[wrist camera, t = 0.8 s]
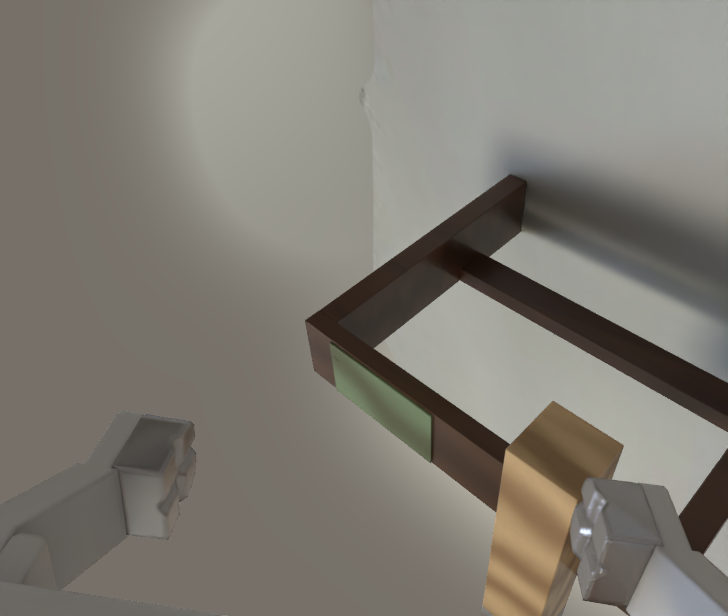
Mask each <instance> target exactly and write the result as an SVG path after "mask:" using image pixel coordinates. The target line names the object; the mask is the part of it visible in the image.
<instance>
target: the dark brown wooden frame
mask: <svg viewBox="0 0 728 616" xmlns="http://www.w3.org/2000/svg"><path fill="white" fill-rule="evenodd" d="M526 183H527V182H526V181H524V180H521V179H519V178H517V177H514V176H512V175H508V176H507V177H505V178H504V179H503V180H501V181H500V182H498V183H497V184H496V185H494V186H493V187H491V188H490V189H489V190H487V191H486V192H484V193H483V194H482V195H480V196H479V197H477V198H476V199H475V200H473V201H472V202H470V203H469V204H468V205H466V206H465V207H463V208H462V209H461V210H459V211H458V212H456V213H455V214H454V215H452V216H451V217H449V218H448V219H447V220H445V221H444V222H442V223H441V224H440V225H438V226H437V227H435V228H434V229H433V230H431V231H430V232H429V233H427V234H426V235H424V236H423V237H422V238H420V239H419V240H417V241H416V242H415V243H413V244H412V245H410V246H409V247H408V248H406V249H405V250H403V251H402V252H401V253H399V254H398V255H396V256H395V257H394V258H392V259H391V260H389V261H388V262H387V263H385V264H384V265H382V266H381V267H380V268H378V269H377V270H375V271H374V272H373V273H371V274H370V275H368V276H367V277H366V278H364V279H363V280H361V281H360V282H359V283H357V284H356V285H355V286H353V287H352V288H350V289H349V290H347V291H346V292H345V293H343V294H342V295H341V296H339V297H338V298H336V299H335V300H333V301H332V302H331V303H329V304H328V305H326V306H325V307H324V308H322V309H321V310H320V311H318V312H316V313H315V314H313V315H312V316H311V317H309V318H308V319H306V320H305V323H306V329H307V334H308V340H309V345H310V350H311V356H312V361H313V367H314V371H315V372H317V373H318V374H319V375H321V376H322V377H323V378H324V379H326V380H327V381H328V382H329V383H331V384H332V385H333V386H335V387H336V389H337V390H338V391H339V392H340V393H341V394H343V395H344V396H345V397H347V398H348V399H349V400H350V401H352V402H353V403H355V404H356V405H357V406H358V407H359V408H361V409H362V410H363V411H364V412H366V413H367V414H368V415H370V416H371V417H372V418H373V419H375V420H376V421H377V422H379V423H380V424H381V425H383V426H384V427H385V428H386V429H388V430H389V431H390V432H391V433H393V434H394V435H395V436H396V437H398V438H399V439H400V440H402V441H403V442H404V443H405V444H407V445H408V446H409V447H411V448H412V449H413V450H414V451H416V452H417V453H418V454H420V455H421V456H422V457H423V458H425V459H426V460H427V461H428V462H430V463H431V462H432V463H433V464H435V465H436V466H437V467H439V468H440V469H441V470H442V471H444V472H445V473H446V474H448V475H449V476H450V477H451V478H453V479H454V480H455V481H457V482H458V483H459V484H460V485H462V486H463V487H464V488H466V489H467V490H468V491H469V492H471V493H472V494H473V495H474V496H476V497H477V498H478V499H480V500H481V501H482V502H483V503H485V504H486V505H487V506H489V507H490V508H491V509H492V510H494V511H495V512H497V505H498V498H499V491H500V485H501V478H502V471H503V464H504V457H505V451H506V448H507V447H508V446H509V445H510V444H509V443H507V442H506V441H505V440H503V439H502V438H500V437H499V436H497V435H496V434H495V433H493V432H492V431H490V430H489V429H487V428H486V427H485V426H483V425H482V424H480V423H479V422H477V421H476V420H475V419H473V418H472V417H470V416H469V415H467V414H466V413H465V412H463V411H462V410H460V409H459V408H457V407H456V406H455V405H453V404H452V403H450V402H449V401H447V400H446V399H445V398H443V397H442V396H440V395H439V394H438V393H436V392H435V391H433V390H432V389H430V388H429V387H428V386H426V385H425V384H423V383H422V382H420V381H419V380H418V379H416V378H415V377H413V376H412V375H410V374H409V373H408V372H406V371H405V370H403V369H402V368H400V367H399V366H398V365H396V364H395V363H393V362H392V361H390V360H389V359H388V358H386V357H385V356H383V355H382V354H380V353H379V352H378V351H376V350H375V349H373V348H374V347H376V346H377V345H378V344H380V343H381V342H382V341H383V340H385V339H386V338H387V337H389V336H390V335H391V334H392V333H394V332H395V331H396V330H397V329H399V328H400V327H401V326H402V325H404V324H405V323H406V322H408V321H409V320H410V319H411V318H413V317H414V316H415V315H416V314H418V313H419V312H420V311H421V310H423V309H424V308H425V307H426V306H428V305H429V304H430V303H432V302H433V301H434V300H435V299H437V298H438V297H439V296H440V295H442V294H443V293H444V292H445V291H447V290H448V289H449V288H450V287H452V286H453V285H454V284H456V283H457V282H458V281H459V280H461V281H462V282H464V283H466V284H468V285H469V286H471V287H473V288H475V289H476V290H478V291H480V292H482V293H483V294H485V295H487V296H489V297H490V298H492V299H494V300H496V301H497V302H499V303H501V304H503V305H505V306H506V307H508V308H510V309H512V310H513V311H515V312H517V313H519V314H520V315H522V316H524V317H526V318H527V319H529V320H531V321H533V322H534V323H536V324H538V325H540V326H542V327H543V328H545V329H547V330H549V331H550V332H552V333H554V334H556V335H557V336H559V337H561V338H563V339H564V340H566V341H568V342H570V343H572V344H573V345H575V346H577V347H579V348H580V349H582V350H584V351H586V352H587V353H589V354H591V355H593V356H594V357H596V358H598V359H600V360H601V361H603V362H605V363H607V364H609V365H610V366H612V367H614V368H616V369H617V370H619V371H621V372H623V373H624V374H626V375H628V376H630V377H631V378H633V379H635V380H637V381H638V382H640V383H642V384H644V385H646V386H647V387H649V388H651V389H653V390H654V391H656V392H658V393H660V394H661V395H663V396H665V397H667V398H668V399H670V400H672V401H674V402H676V403H677V404H679V405H681V406H683V407H684V408H686V409H688V410H690V411H691V412H693V413H695V414H697V415H698V416H700V417H702V418H704V419H705V420H707V421H709V422H711V423H713V424H714V425H716V426H718V427H720V428H721V429H723V430H725V431H727V432H728V383H727V382H725V381H723V380H721V379H719V378H717V377H715V376H713V375H712V374H710V373H708V372H706V371H704V370H702V369H700V368H698V367H696V366H694V365H693V364H691V363H689V362H687V361H685V360H683V359H681V358H679V357H677V356H675V355H674V354H672V353H670V352H668V351H666V350H664V349H662V348H660V347H658V346H657V345H655V344H653V343H651V342H649V341H647V340H645V339H643V338H641V337H639V336H638V335H636V334H634V333H632V332H630V331H628V330H626V329H624V328H622V327H620V326H619V325H617V324H615V323H613V322H611V321H609V320H607V319H605V318H603V317H602V316H600V315H598V314H596V313H594V312H592V311H590V310H588V309H586V308H584V307H583V306H581V305H579V304H577V303H575V302H573V301H571V300H569V299H567V298H566V297H564V296H562V295H560V294H558V293H556V292H554V291H552V290H550V289H548V288H547V287H545V286H543V285H541V284H539V283H537V282H535V281H533V280H531V279H529V278H528V277H526V276H524V275H522V274H520V273H518V272H516V271H514V270H512V269H511V268H509V267H507V266H505V265H503V264H501V263H499V262H497V261H495V260H493V259H492V258H490V256H491V255H492V254H493V253H495V252H496V251H497V250H498V249H500V248H501V247H502V246H503V245H505V244H506V243H507V242H509V241H510V240H511V239H512V238H514V237H515V236H516V235H517V234H519V233H520V232H521V224H522V216H523V208H524V200H525V191H526ZM727 519H728V449H727V450H726V451H725V453H724V454H723V456H722V457H721V458H720V460H719V461H718V463H717V464H716V465H715V467H714V468H713V469H712V471H711V472H710V474H709V475H708V476H707V478H706V479H705V481H704V482H703V483H702V485H701V486H700V487H699V489H698V490H697V492H696V493H695V494H694V496H693V497H692V499H691V500H690V501H689V503H688V504H687V505H686V507H685V508H684V510H683V511H682V512H681V514H680V515H679V520H680V522H681V524H682V527H683V529H684V532H685V534H686V537H687V539H688V542H689V544H690V547H691V549H692V551H697V552H700V553H701V554H702V555H704V554H705V552H706V551H707V549H708V548H709V546H710V545H711V543H712V542H713V540H714V539H715V537H716V536H717V534H718V533H719V531H720V530H721V528H722V527H723V525H724V524H725V522H726V521H727ZM577 576H578V575H577ZM617 607H618V606H617ZM618 608H620V609H621V610H622V611H623V612H625V613H626V614H627V615H628V616H630V615H629V613H628V612H627V611H626V608H624V607H618Z"/></svg>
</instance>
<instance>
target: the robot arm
mask: <svg viewBox="0 0 728 616" xmlns="http://www.w3.org/2000/svg"><path fill="white" fill-rule="evenodd" d="M194 437H195V430H194V424H193V423H192V422H190V421H184V420H178V419H172V418H166V417H160V416H154V415H148V414H146V415H143V414H138V413H132V412H126V411H122V412H120V413H119V414H117V415H116V417H115V418H114V420H113V421H112V423H111V424H110V426H109V427H108V429H107V430H106V432H105V433H104V435H103V436H102V438H101V439H100V441H99V443H98V444H97V445H96V447H95V448H94V450H93V452H92V453H91V455H90V456H89V458H88V459H87V461H86V462H85V464H79V463H77V464H75V465H73V466H72V467H70V468H68V469H66V470H64V471H62V472H60V473H58V474H57V475H55V476H53V477H51V478H49V479H47V480H45V481H44V482H42V483H40V484H38V485H36V486H34V487H32V488H31V489H29V490H27V491H25V492H23V493H21V494H19V495H18V496H16V497H14V498H12V499H10V500H8V501H6V502H4V503H3V504H1V505H0V616H229V615H223V614H216V613H210V612H203V611H196V610H190V609H183V608H176V607H170V606H163V605H157V604H150V603H143V602H137V601H130V600H123V599H116V598H109V597H103V596H96V595H90V594H83V593H76V592H70V591H63V590H62V589H63V588H64V587H65V586H67V585H68V584H69V583H70V582H72V581H73V580H74V579H75V578H77V577H78V576H79V575H80V574H82V573H83V572H84V571H85V570H87V569H88V568H89V567H90V566H92V565H93V564H94V563H95V562H97V561H98V560H99V559H100V558H102V557H103V556H104V555H105V554H107V553H108V552H109V551H110V550H112V549H113V548H114V547H115V546H116V545H118V544H119V543H120V542H122V541H123V540H124V539H125V538H126V537H127V535H133V536H141V537H150V538H158V539H167V540H168V539H169V537H170V535H171V533H172V531H173V528H174V526H175V524H176V522H177V519H178V517H179V515H180V507H179V502H181V501H182V500H184V499H185V498H187V497H188V494H189V492H190V489H191V487H192V484H193V480H194V476H195V470H196V452H195V451H194V450H193V448H192V447H191V444H192V442H193V440H194ZM581 492H582V496H583V501H582V502H581V503H579V504H578V505H576V506H575V509H574V512H573V515H572V519H571V528H570V537H571V545H572V551H573V553H574V554H575V555H576V556H577V558H578V559H579V560H580V564H579V567H578V569H577V575H578V580H579V584H580V589H581V594H582V598H583V600H584V601H590V602H595V603H601V604H608V605H613V606H618V607H624V608H626V611H627V612H628V613H629V615H630V616H728V577H727V576H726V575H725V574H724V573H723V572H721V571H720V570H719V569H718V568H717V567H716V566H715V565H714V564H712V563H711V562H710V561H709V560H708V559H707V558H706V557H705V556H704V555H702V554H701V553H700V552H697V551H692V549H691V547H690V544H689V542H688V539H687V537H686V534H685V532H684V529H683V527H682V524H681V522H680V520H679V517H678V515H677V512H676V510H675V507H674V505H673V502H672V500H671V497H670V495H669V492H668V490H667V489H666V488H665V487H664V486H659V485H651V484H643V483H633V482H625V481H618V480H610V479H603V478H595V477H588V478H587V479H586V480H585V481H584V484H583V487H582V489H581Z"/></svg>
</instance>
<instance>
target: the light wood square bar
mask: <svg viewBox="0 0 728 616" xmlns="http://www.w3.org/2000/svg"><path fill="white" fill-rule="evenodd" d="M623 447H624V446H623V445H622V444H621V443H619V442H618V441H616V440H614V439H613V438H611V437H610V436H608V435H607V434H605V433H603V432H602V431H600V430H599V429H597V428H595V427H594V426H592V425H591V424H589V423H588V422H586V421H584V420H583V419H581V418H580V417H578V416H576V415H575V414H573V413H572V412H570V411H569V410H567V409H565V408H564V407H562V406H561V405H559V404H557V403H556V402H554V401H552V402H551V403H550V404H549V405H548V406H547V407H546V408H545V409H544V410H543V411H542V412H541V413H540V414H539V415H538V416H537V418H536V419H535V420H534V421H533V422H532V423H531V424H530V425H529V426H528V427H527V428H526V429H525V430H524V431H523V432H522V433H521V434H520V435H519V436H518V437H517V438H516V439H515V440H514V441H513V442H512V443H511V444H510V445H509V446H508V447H507V448H506V451H505V457H504V464H503V471H502V478H501V485H500V491H499V498H498V505H497V512H496V519H495V525H494V532H493V539H492V546H491V553H490V559H489V567H488V573H487V580H486V587H485V594H484V600H483V607H482V614H481V616H562V614H563V611H564V608H565V606H566V603H567V600H568V597H569V595H570V592H571V589H572V586H573V584H574V581H575V578H576V575H577V569H578V567H579V564H580V560H579V559H578V558H577V556H576V555H575V554H574V553H573V551H572V545H571V537H570V528H571V519H572V515H573V512H574V509H575V506H576V505H578V504H579V503H581V502H582V501H583V496H582V492H581V489H582V487H583V484H584V481H585V480H586V479H587V478H588V477H595V478H603V479H610V480H612V477H613V474H614V472H615V469H616V466H617V463H618V461H619V458H620V455H621V453H622V450H623Z"/></svg>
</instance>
